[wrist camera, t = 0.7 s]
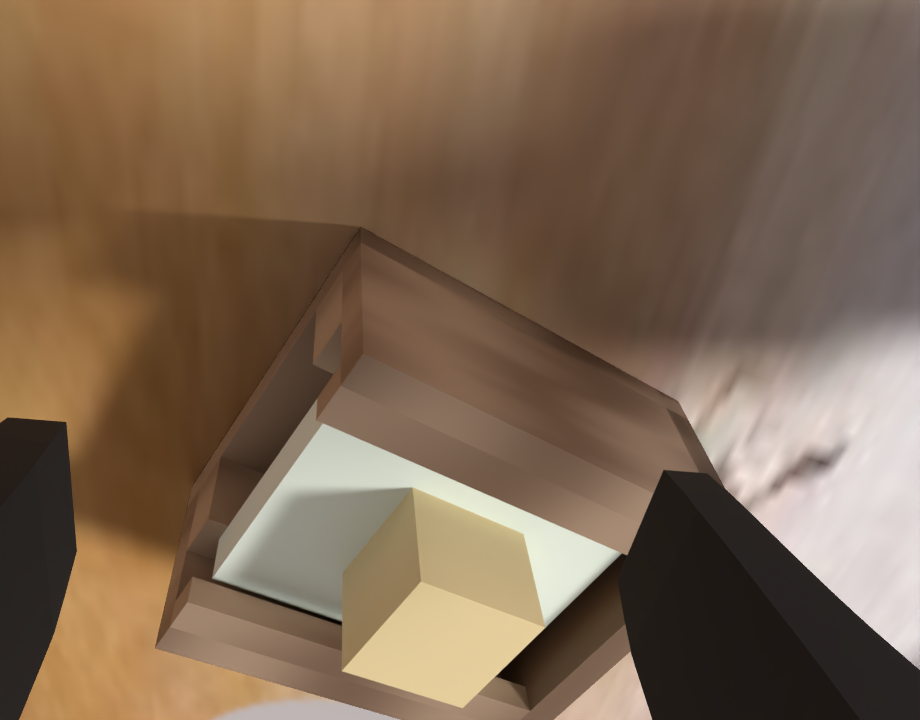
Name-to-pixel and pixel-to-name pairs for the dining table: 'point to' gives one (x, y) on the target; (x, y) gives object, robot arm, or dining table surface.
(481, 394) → the walnut box
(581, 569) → the cover plate
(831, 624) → the robot arm
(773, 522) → the dining table surface
